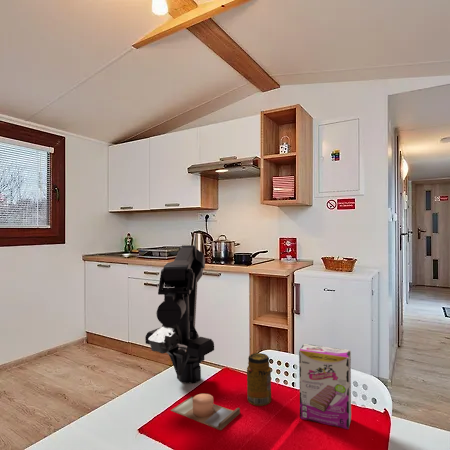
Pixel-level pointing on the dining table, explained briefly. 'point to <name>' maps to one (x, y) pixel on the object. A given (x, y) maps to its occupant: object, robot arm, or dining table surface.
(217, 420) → the board
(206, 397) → the tan round cylinder
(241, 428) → the dining table surface
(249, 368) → the condiment
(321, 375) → the candy bar box
